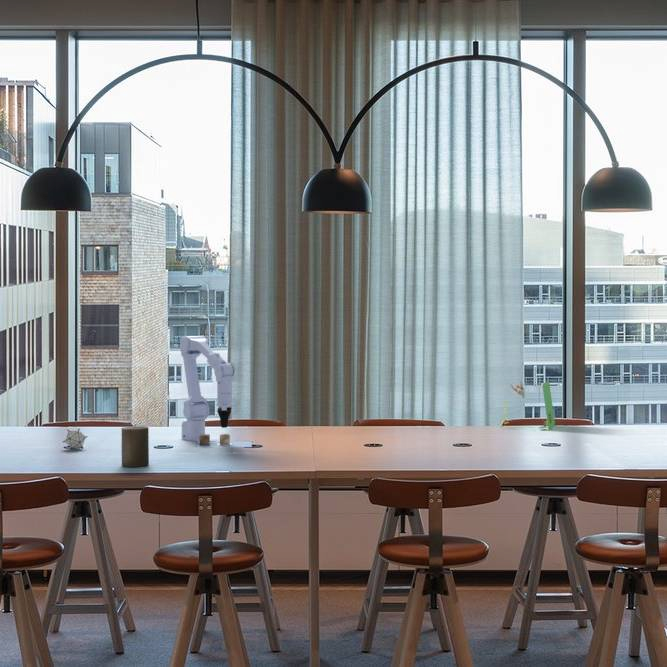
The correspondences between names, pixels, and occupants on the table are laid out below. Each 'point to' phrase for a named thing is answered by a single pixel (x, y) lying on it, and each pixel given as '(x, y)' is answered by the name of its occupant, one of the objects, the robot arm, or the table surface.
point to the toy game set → (548, 404)
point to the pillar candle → (135, 446)
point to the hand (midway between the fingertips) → (224, 426)
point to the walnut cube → (204, 439)
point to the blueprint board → (232, 444)
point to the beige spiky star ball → (75, 439)
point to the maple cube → (224, 439)
